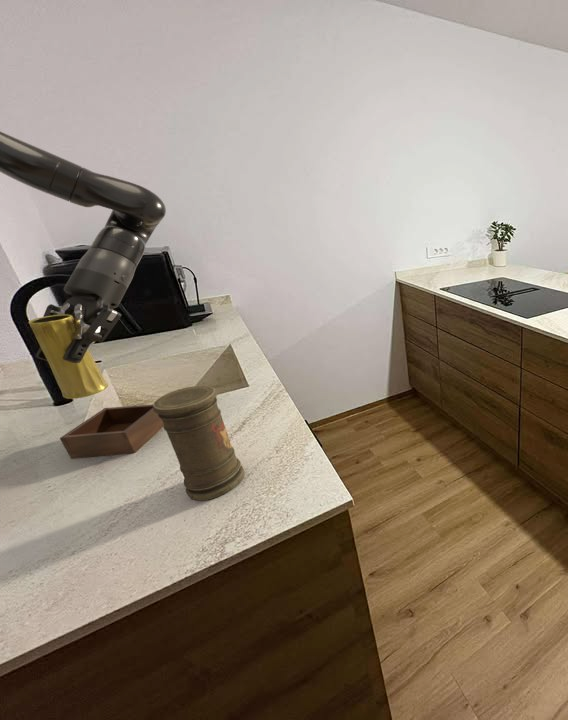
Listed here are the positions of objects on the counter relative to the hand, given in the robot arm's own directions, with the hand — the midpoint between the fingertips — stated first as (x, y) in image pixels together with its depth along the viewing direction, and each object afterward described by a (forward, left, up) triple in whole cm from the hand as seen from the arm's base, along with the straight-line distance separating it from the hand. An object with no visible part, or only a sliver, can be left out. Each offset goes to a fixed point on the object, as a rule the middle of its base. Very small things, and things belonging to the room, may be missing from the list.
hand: (57, 360), depth 66 cm
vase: (+1, +2, -7) cm, 8 cm away
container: (+25, -10, -22) cm, 35 cm away
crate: (-2, +8, -22) cm, 23 cm away
